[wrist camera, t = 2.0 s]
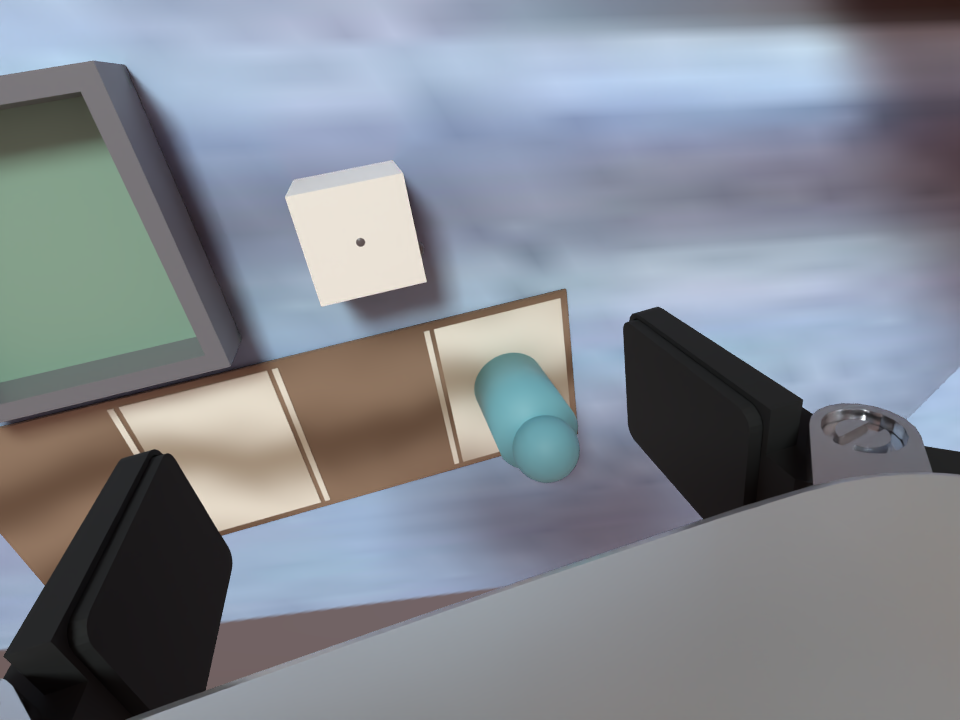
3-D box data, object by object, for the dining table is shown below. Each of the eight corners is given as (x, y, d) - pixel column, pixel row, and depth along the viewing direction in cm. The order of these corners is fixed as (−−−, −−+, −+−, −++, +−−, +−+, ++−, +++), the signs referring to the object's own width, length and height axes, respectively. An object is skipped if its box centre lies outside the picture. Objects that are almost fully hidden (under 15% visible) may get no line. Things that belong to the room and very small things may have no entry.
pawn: (468, 363, 29) (507, 445, 22) (539, 344, 30) (598, 420, 23) (480, 423, 31) (519, 515, 25) (546, 405, 32) (602, 490, 25)
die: (293, 179, 23) (284, 197, 19) (398, 158, 24) (410, 171, 20) (325, 279, 26) (323, 313, 22) (420, 258, 26) (435, 287, 22)
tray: (-231, 123, 19) (-324, 127, 16) (124, 64, 20) (93, 60, 18) (-22, 401, 24) (-65, 438, 22) (241, 339, 26) (231, 366, 23)
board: (-71, 444, 25) (-75, 447, 24) (564, 288, 29) (566, 290, 29) (46, 582, 29) (44, 586, 29) (576, 431, 34) (578, 434, 34)
